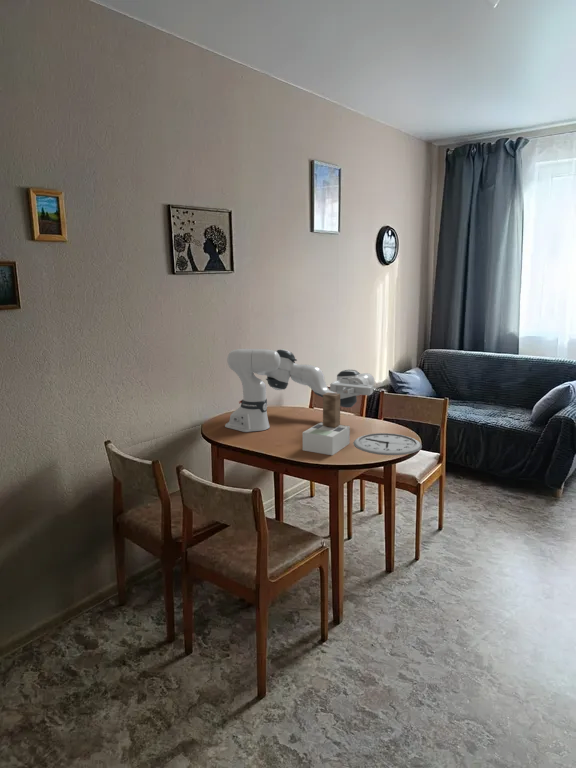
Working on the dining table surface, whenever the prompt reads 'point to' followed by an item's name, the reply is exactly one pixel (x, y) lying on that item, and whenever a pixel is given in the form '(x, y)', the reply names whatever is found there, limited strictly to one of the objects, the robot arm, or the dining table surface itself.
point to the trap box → (326, 439)
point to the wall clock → (387, 444)
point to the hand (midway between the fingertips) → (345, 391)
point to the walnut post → (331, 409)
